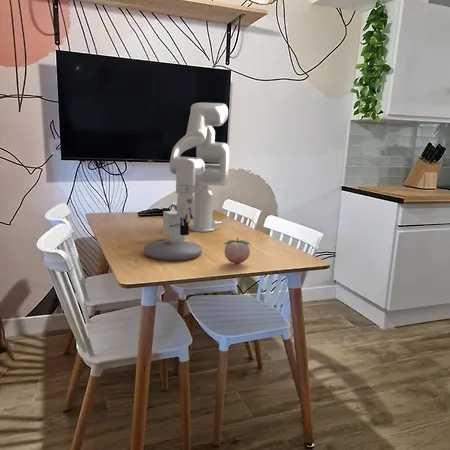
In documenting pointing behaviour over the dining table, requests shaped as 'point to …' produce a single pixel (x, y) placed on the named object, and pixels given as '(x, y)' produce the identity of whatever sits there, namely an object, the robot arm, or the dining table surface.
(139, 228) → the dining table surface
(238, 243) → the decorative fruit
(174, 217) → the supplement box
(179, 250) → the disc
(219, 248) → the dining table surface
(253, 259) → the dining table surface
